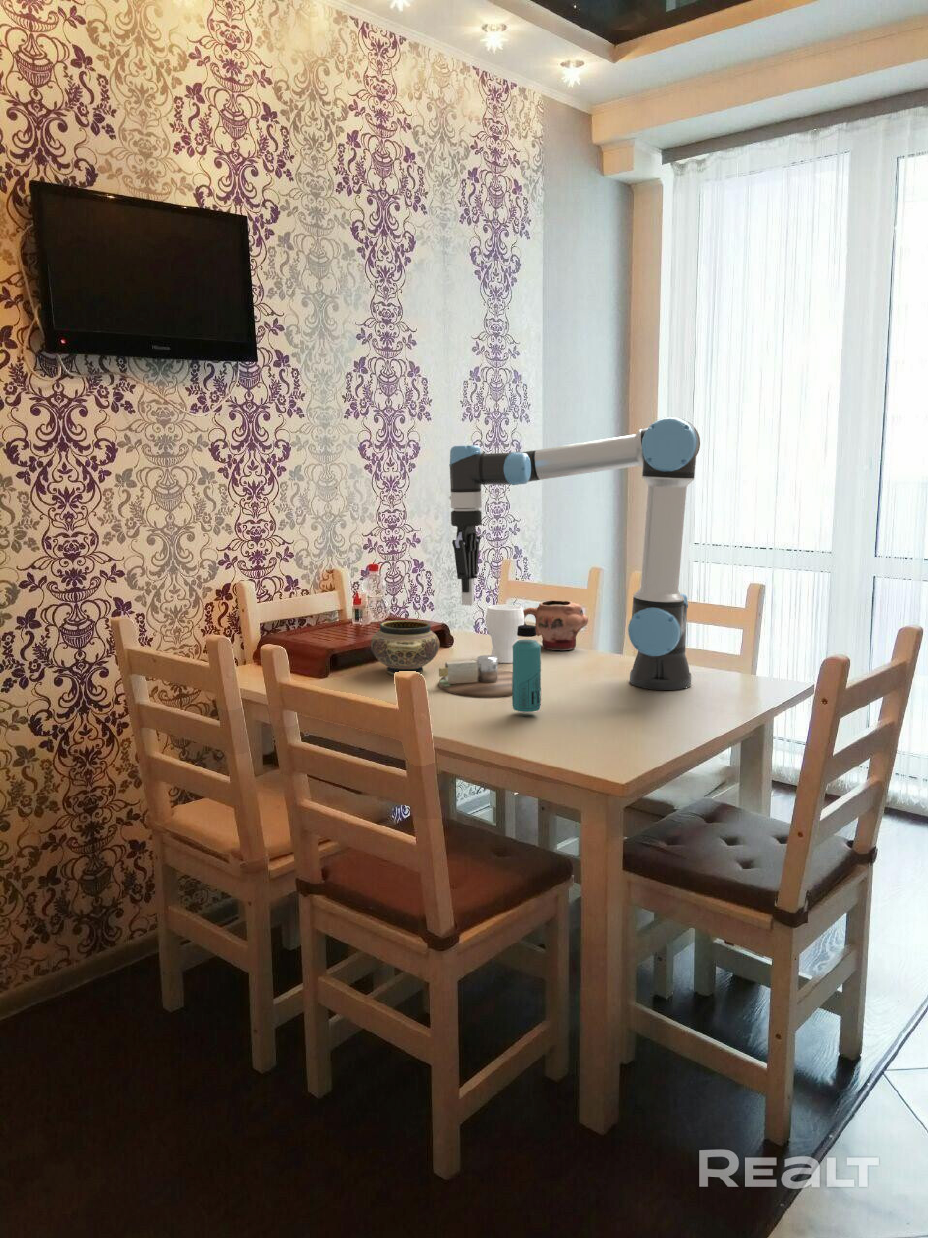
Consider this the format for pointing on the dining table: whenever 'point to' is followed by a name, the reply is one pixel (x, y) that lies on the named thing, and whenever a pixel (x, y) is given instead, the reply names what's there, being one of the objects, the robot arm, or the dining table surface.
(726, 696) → the dining table surface
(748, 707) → the dining table surface
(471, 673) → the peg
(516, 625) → the cup
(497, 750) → the dining table surface
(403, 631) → the ceramic bowl
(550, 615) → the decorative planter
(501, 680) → the round wooden board
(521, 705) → the beverage bottle
